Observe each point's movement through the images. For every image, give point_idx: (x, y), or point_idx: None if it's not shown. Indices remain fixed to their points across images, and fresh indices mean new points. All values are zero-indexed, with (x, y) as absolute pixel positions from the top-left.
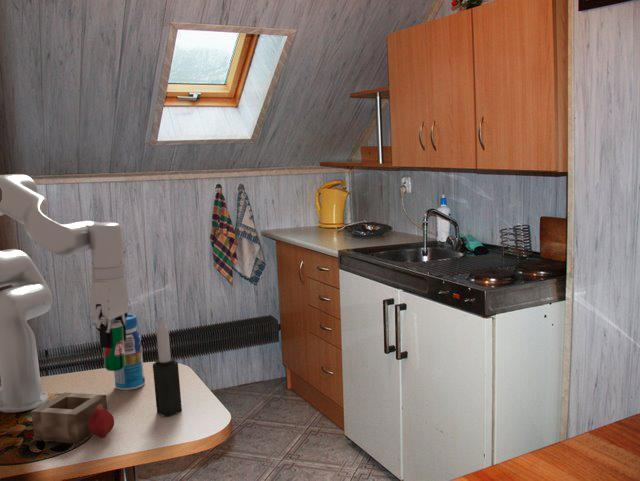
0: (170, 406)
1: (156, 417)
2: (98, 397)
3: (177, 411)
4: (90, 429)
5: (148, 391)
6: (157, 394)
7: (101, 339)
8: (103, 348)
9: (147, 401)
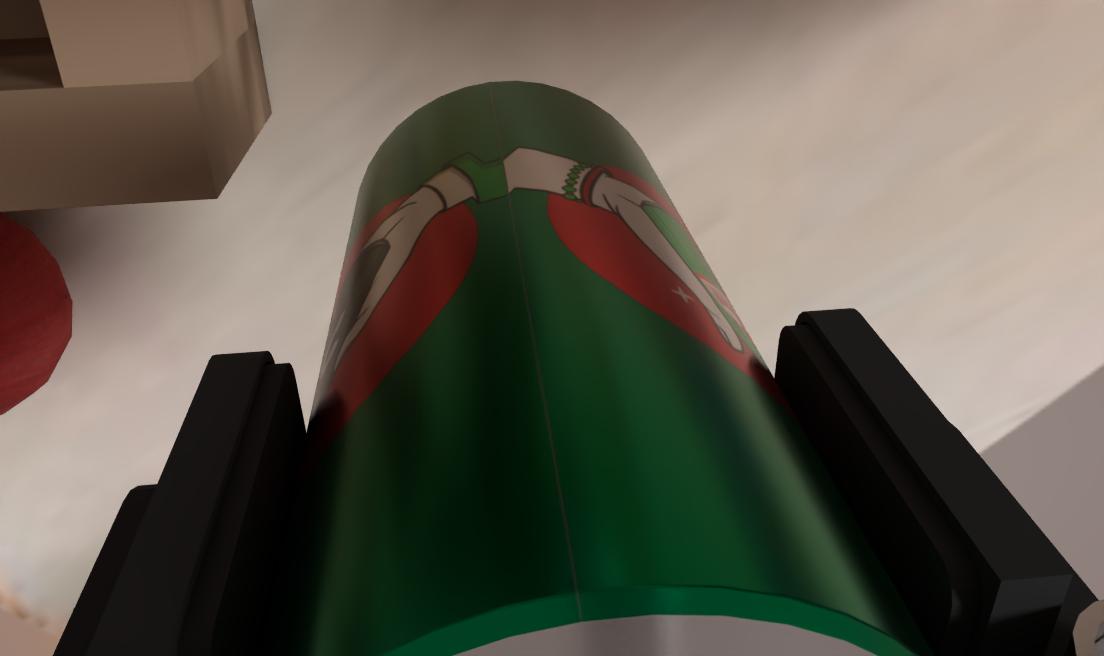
0: None
1: None
2: (121, 157)
3: None
4: None
5: (981, 31)
6: None
7: (89, 592)
8: (365, 282)
9: (748, 164)
